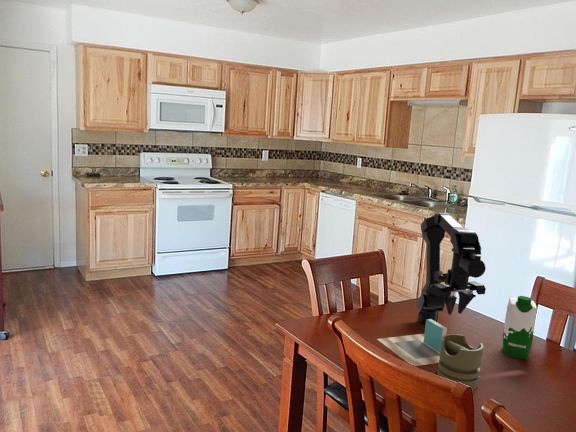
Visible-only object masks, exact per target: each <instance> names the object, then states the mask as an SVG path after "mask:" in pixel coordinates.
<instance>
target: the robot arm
mask: <svg viewBox="0 0 576 432" xmlns="http://www.w3.org/2000/svg"><path fill="white" fill-rule="evenodd" d="M420 231H421V237H422V239H423V240H424V242H425V244H426V257H425V258H426V263H425V264H426V265H425V266H426V268H425V269H426V273H425V275H426V276H425V277H426V279H425V280H426V281H425V284H424V286H423V288H422V289H421V294H420V296H419V297H418V299H416V302H415V303H416V308H417V309H418V310H419V312H418V316H417V320H415V323H419V324H420V325H426V319H432V320H434V321H435V322H437V323H438V319H439V312H443V311H444V308H445V307H446V312H447V314H448V315H449V316H451V315H452V313H453V311H454V307H455V305H456V302H457V299H458V306H457V313H458V314H459V315H461V314H462V313H463V312H464V310H465V309H466V308H467V306H468V305H469V304H470V303H471V301H472V300H473V299H474V298H476V297H477V295H485V294H486V290H487V289H486V286H485V285H484V284H482V283H480V282H478V281H475V280H473V281H469V278H470V277H471V278H475V279H477V278H480V277H482V276H483V275H484V274H485V272H486V269H487V268H486V263H485V262H484V261H483V260H482V259H481V257H482V256H481V255H482V246H481V244H480V240H479V236H478V234H477V233H476V231H475V230H473V229H470V228H468V227H467V228H466V227H463V226H462V225H461V224H460V223H459V222H458V221H456V219H454V218H453V217H452V215H451V214H450V213H448V212H436V213H435V214H434V215H432V216H430V217H429V216H428V217H427V218H425V219H424V220H423V221H422V222H421V223H420ZM446 233H447V234H448V235H449V236H450V239H449V240H450V243H451V244H452V248H451V252H452V260H451V262H452V263H451V268H449V269H448V270H447V272H445V273H444V272H443V271H442V270H441V243H442V242H443V240H444V238H445V237H446V236H445V235H446ZM442 283H444V284H442ZM474 291H475V293H476V294H477V295H476V294H474ZM455 293H457V294H458V297H459V298H458V297H457V296H456V295H455Z"/></svg>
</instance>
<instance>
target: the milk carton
mask: <svg viewBox="0 0 576 432" xmlns="http://www.w3.org/2000/svg"><path fill="white" fill-rule="evenodd" d="M537 311H538V307H537V304H536V302H535V301H534V300H532V298H531V297H529V296H524V295H519V296H518V297H517V298H516V297H512V296H509V298H508V303H507V305H506V313H505V318H504V326H503V332H502V349H503V355H505V356H506V357H510V358H517V359H521V360H525V361H526V360H527V361H528V359H529V356H530V351H531V348H532V342H533V336H534V332H535V326H536V319H537Z"/></svg>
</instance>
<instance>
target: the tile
mask: <svg viewBox="0 0 576 432" xmlns="http://www.w3.org/2000/svg"><path fill="white" fill-rule="evenodd" d="M424 325H425V328H424V333H423V334H424V341H423V342H424V343H426V344H427V345H429V346H430V347H432V348H433V349H435V350H436V351H438V352H440V349H441V341H442V337H443V336H444V335H447V334H448V333H447V331H448V328H447V327H446V326H444V325H442V324H441V323H439V322H438V321H437V322H435V321H434V320H432V319H426V324H424Z"/></svg>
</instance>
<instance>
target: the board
mask: <svg viewBox="0 0 576 432" xmlns="http://www.w3.org/2000/svg"><path fill="white" fill-rule="evenodd" d="M376 340H377V341H379V342H380V343H381V344H383V346H385V347H387V348H388V349H389V350H390V351H392V352H393V353H394V354H396V355H397V356H398V357H400V359H402V360H404V361H405V362H406V363H408V364H409V365H410V364H411V365H410V366H412V365H414V366H413V367H419V366H425V365H433V364H439V359H440V352H438V351H436V350H435V349H433V348H432V347H430V346H429V345H427V344H426V343H424V342H423V341H424V333H420V334H419V333H418V334H410V335H400V336H393V337H392V336H391V337H383V338H376Z"/></svg>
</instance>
